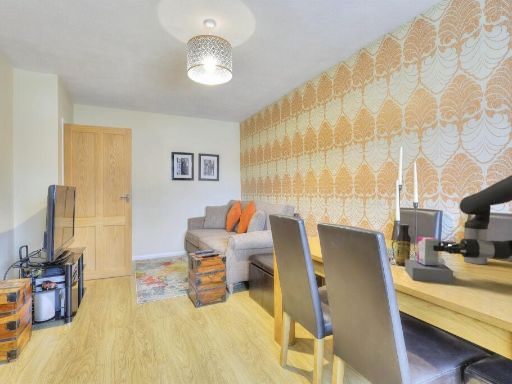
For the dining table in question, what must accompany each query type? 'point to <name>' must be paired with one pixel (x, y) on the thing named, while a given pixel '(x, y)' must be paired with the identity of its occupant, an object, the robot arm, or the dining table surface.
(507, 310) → the dining table surface
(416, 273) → the podium
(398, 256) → the sauce bottle
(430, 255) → the supplement box
